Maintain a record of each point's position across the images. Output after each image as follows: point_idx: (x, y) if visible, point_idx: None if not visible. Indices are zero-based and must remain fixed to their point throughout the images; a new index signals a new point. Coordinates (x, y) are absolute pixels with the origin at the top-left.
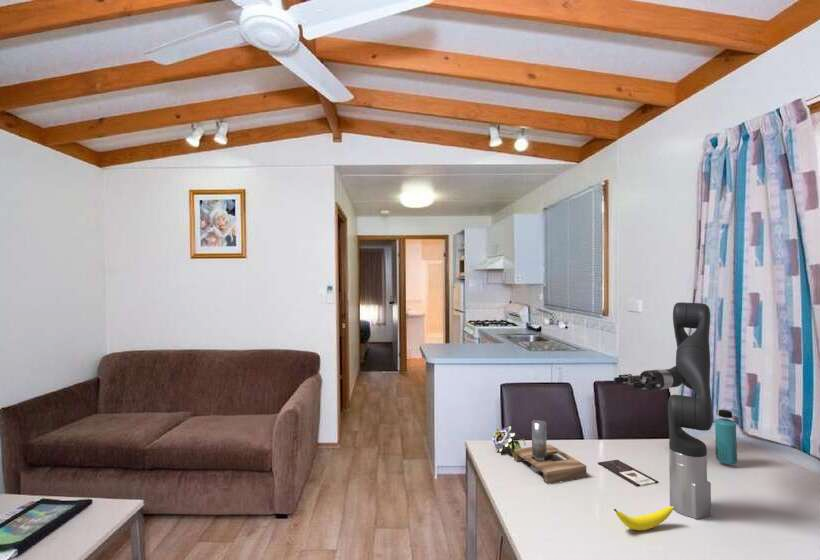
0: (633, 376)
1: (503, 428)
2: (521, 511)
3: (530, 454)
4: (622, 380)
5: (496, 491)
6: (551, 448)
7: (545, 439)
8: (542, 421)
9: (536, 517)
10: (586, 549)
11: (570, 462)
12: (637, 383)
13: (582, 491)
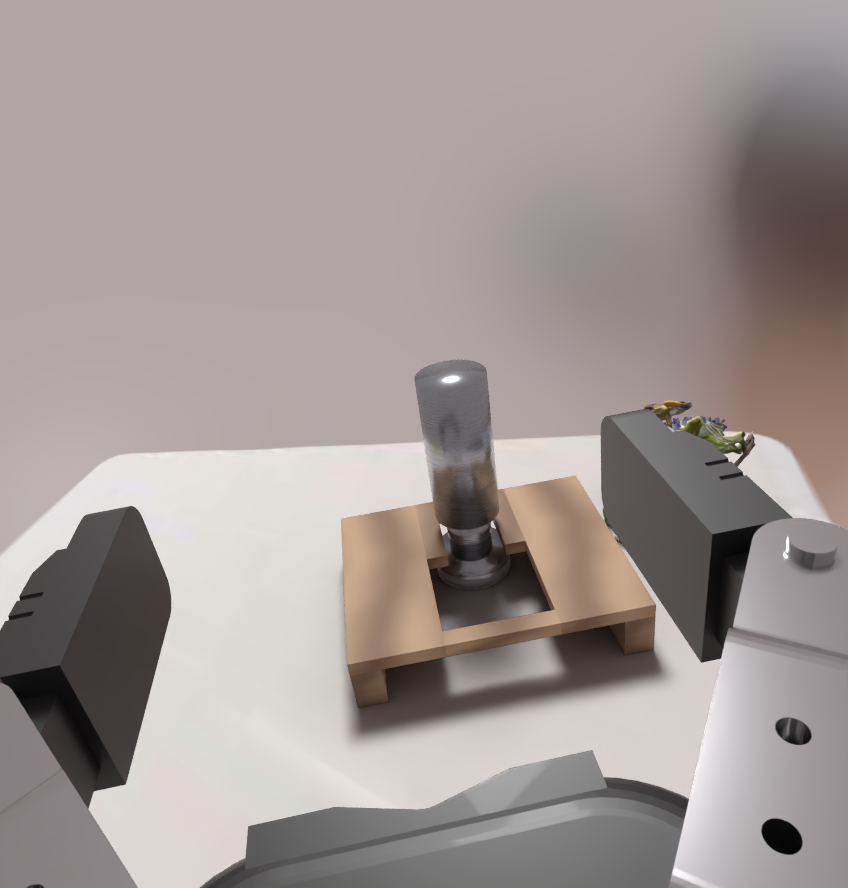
0: (695, 783)
1: (714, 419)
2: (237, 476)
3: (516, 509)
4: (700, 598)
5: (353, 450)
6: (590, 594)
7: (430, 455)
8: (459, 383)
9: (196, 494)
10: (27, 542)
11: (401, 614)
12: (65, 579)
13: (254, 639)
